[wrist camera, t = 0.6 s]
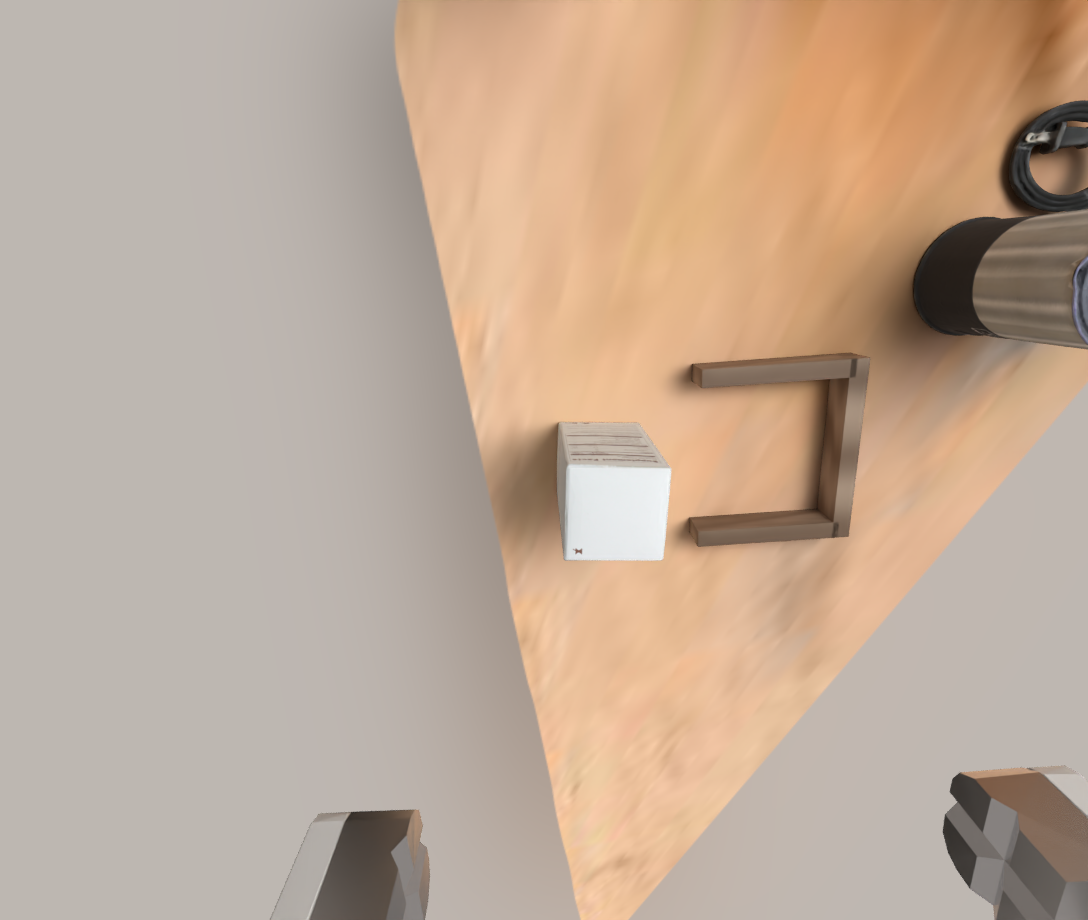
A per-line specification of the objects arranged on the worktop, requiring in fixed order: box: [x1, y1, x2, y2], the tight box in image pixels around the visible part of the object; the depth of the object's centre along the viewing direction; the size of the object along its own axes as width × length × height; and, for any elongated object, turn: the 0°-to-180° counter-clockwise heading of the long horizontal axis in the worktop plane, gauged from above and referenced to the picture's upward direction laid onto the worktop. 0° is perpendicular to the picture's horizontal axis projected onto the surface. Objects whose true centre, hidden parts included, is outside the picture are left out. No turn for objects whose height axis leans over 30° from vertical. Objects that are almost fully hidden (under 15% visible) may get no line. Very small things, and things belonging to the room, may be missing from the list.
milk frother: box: [914, 101, 1088, 349], centre depth 37 cm, size 14×16×15 cm
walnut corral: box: [689, 353, 870, 547], centre depth 48 cm, size 16×14×3 cm
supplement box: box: [557, 422, 671, 561], centre depth 44 cm, size 7×7×13 cm
